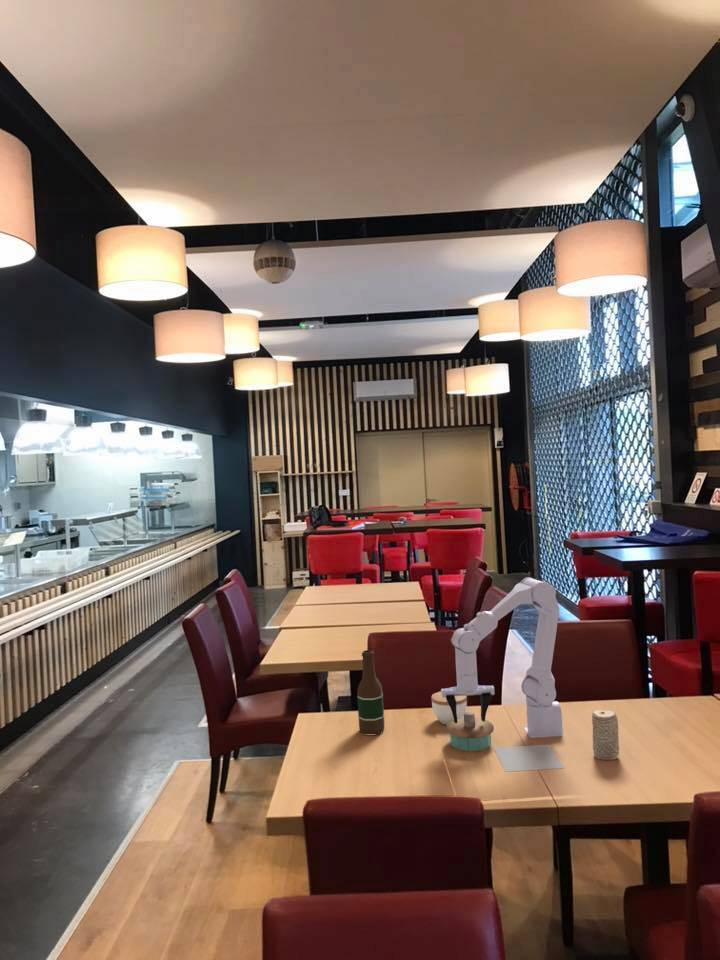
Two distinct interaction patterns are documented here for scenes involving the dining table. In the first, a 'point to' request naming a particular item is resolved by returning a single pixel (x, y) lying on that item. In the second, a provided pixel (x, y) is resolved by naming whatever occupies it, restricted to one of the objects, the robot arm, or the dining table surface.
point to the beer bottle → (370, 698)
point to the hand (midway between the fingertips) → (469, 721)
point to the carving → (605, 734)
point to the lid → (470, 727)
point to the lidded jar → (447, 707)
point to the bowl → (470, 743)
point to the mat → (528, 758)
